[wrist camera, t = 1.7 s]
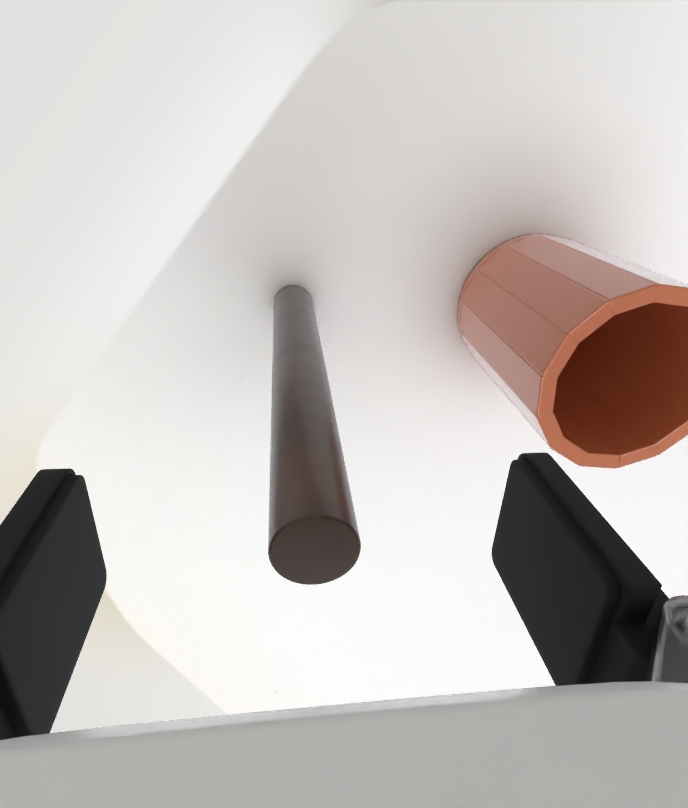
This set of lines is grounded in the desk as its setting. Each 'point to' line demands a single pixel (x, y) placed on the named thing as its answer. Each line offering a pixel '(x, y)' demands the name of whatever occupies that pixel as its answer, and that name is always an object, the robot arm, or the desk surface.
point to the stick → (306, 455)
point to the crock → (582, 347)
